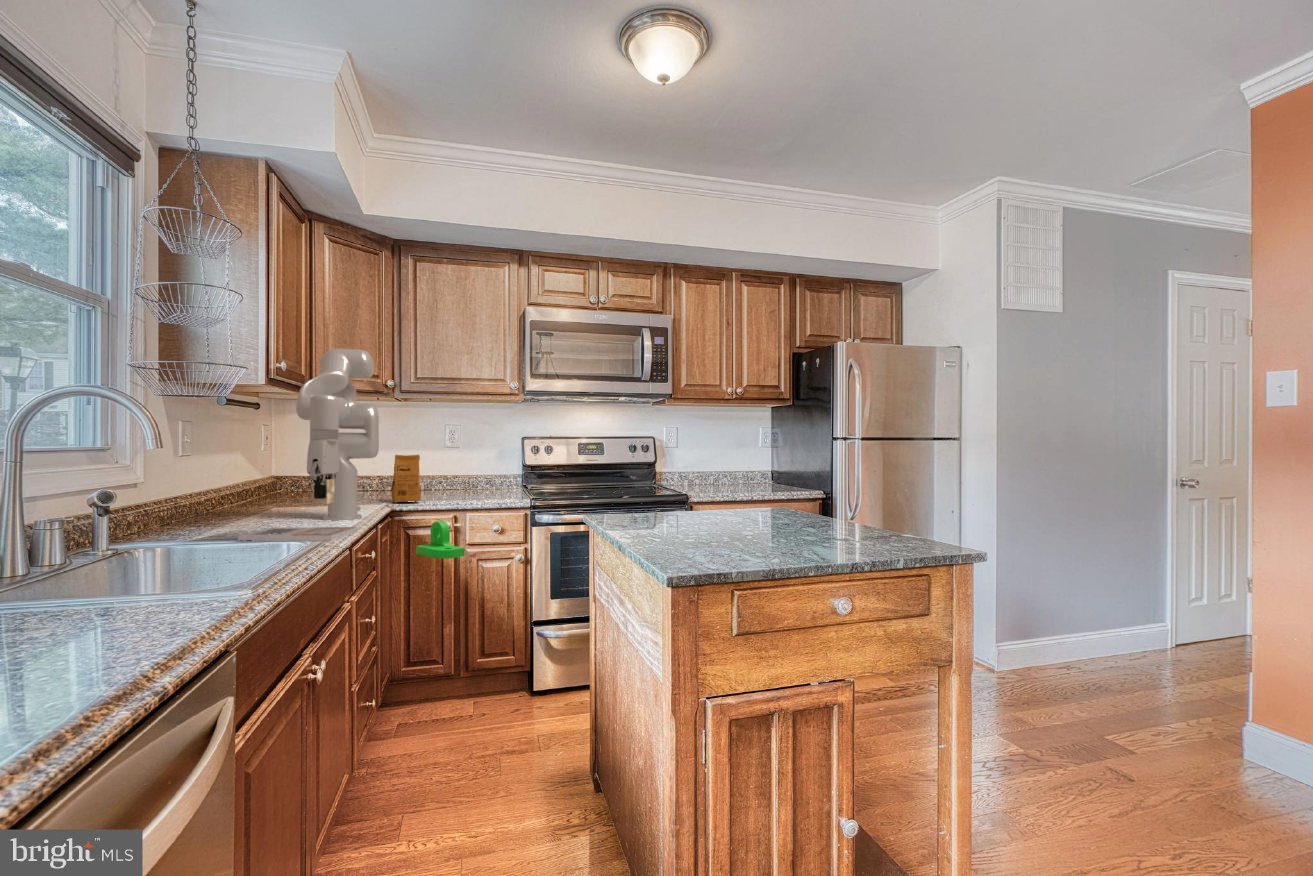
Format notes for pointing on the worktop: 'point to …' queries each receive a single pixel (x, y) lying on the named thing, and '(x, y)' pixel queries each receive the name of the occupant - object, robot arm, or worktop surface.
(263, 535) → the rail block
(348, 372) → the robot arm
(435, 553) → the mechanical part
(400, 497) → the coffee package
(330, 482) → the wooden cube
